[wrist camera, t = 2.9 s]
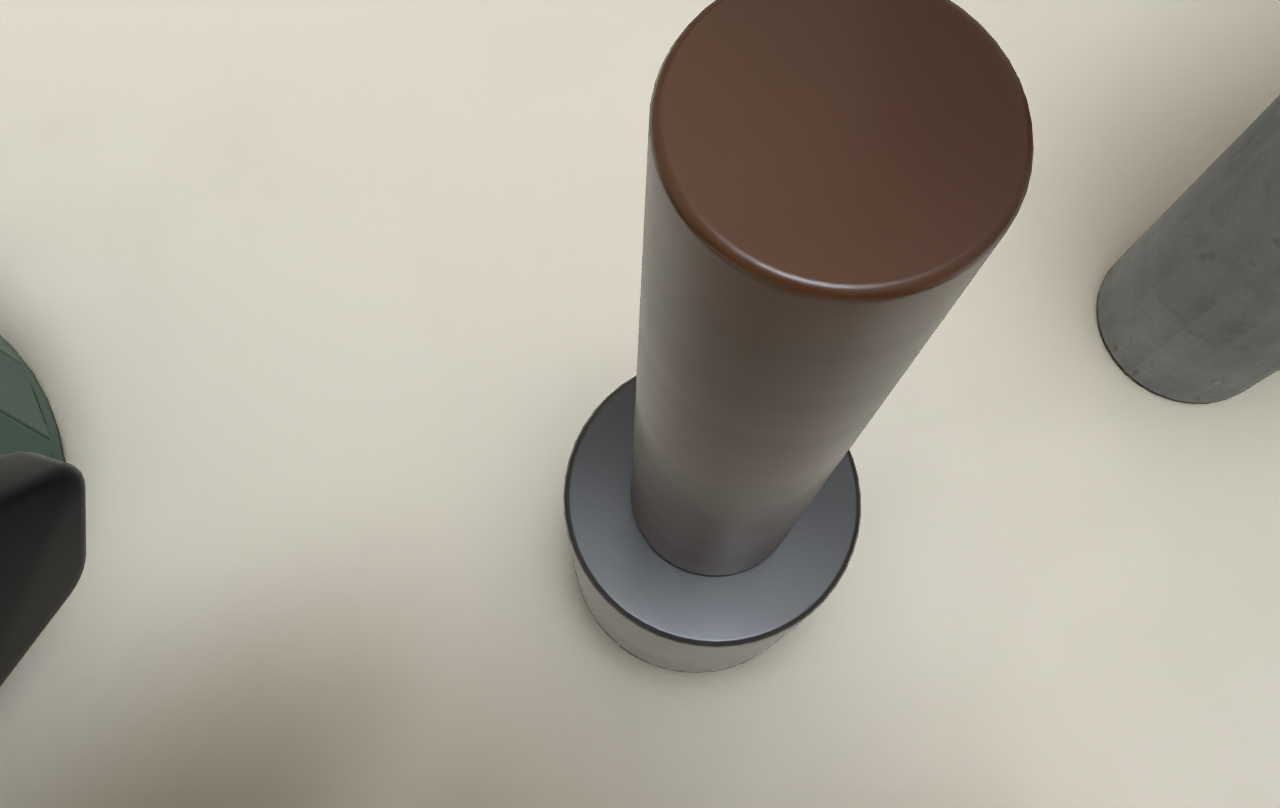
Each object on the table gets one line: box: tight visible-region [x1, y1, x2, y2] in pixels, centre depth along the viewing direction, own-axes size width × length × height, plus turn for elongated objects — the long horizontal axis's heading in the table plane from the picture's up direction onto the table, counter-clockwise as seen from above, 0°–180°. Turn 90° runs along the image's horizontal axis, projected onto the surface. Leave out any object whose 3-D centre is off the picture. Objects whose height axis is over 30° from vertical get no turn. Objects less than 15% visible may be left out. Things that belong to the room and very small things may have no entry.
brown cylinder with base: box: [564, 0, 1033, 673], centre depth 12 cm, size 4×4×13 cm
